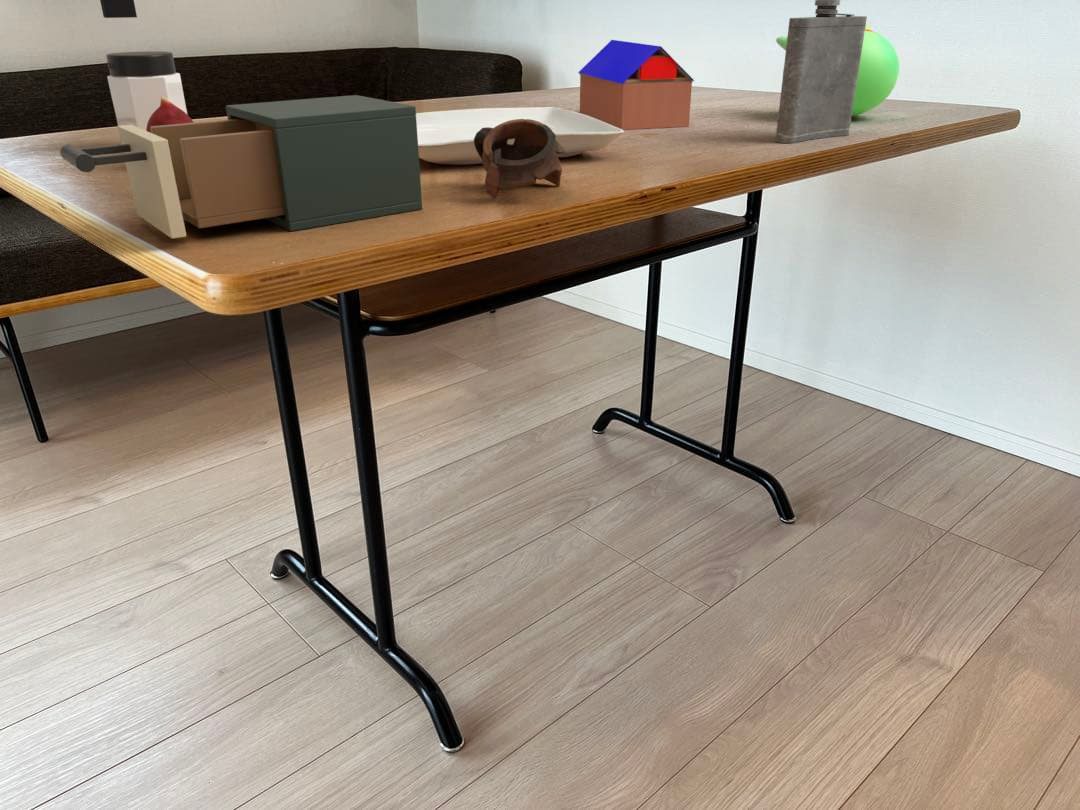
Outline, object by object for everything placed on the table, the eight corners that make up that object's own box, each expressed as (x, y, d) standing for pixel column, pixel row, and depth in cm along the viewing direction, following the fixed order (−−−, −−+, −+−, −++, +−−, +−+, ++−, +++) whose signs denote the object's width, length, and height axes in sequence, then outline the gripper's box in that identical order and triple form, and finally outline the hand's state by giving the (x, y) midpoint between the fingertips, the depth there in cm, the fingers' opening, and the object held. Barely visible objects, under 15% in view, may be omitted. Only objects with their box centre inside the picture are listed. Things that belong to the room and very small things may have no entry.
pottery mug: (586, 192, 90) (581, 129, 83) (530, 244, 87) (520, 184, 80) (504, 151, 95) (493, 89, 88) (448, 200, 92) (432, 139, 85)
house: (641, 110, 147) (644, 39, 142) (691, 126, 130) (697, 45, 125) (577, 113, 144) (578, 40, 139) (620, 130, 127) (623, 47, 122)
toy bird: (797, 125, 131) (810, 22, 124) (763, 111, 146) (773, 19, 139) (907, 123, 132) (926, 21, 126) (862, 109, 147) (877, 18, 141)
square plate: (554, 129, 128) (554, 103, 126) (626, 160, 104) (628, 127, 103) (377, 139, 120) (375, 111, 118) (413, 174, 97) (411, 139, 95)
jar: (145, 141, 119) (126, 51, 114) (200, 141, 119) (184, 51, 114) (113, 152, 111) (91, 55, 106) (172, 152, 111) (153, 55, 106)
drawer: (102, 250, 66) (77, 148, 62) (73, 223, 73) (49, 131, 70) (313, 215, 75) (302, 126, 72) (268, 195, 83) (256, 113, 80)
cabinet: (290, 231, 74) (274, 118, 70) (242, 207, 83) (225, 105, 78) (422, 209, 81) (415, 106, 77) (365, 188, 90) (356, 95, 86)
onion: (210, 161, 105) (198, 94, 102) (192, 170, 100) (179, 100, 96) (165, 161, 105) (151, 94, 102) (145, 170, 100) (130, 100, 97)
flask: (766, 140, 118) (782, -1, 110) (832, 131, 125) (851, -2, 117) (786, 143, 115) (804, -1, 107) (853, 134, 122) (874, -2, 114)
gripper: (122, -303, 67) (179, 18, 78) (90, -268, 77) (144, 15, 87) (16, -322, 63) (91, 20, 74) (-4, -282, 73) (65, 16, 83)
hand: (120, 17), depth 80 cm, fingers closed
